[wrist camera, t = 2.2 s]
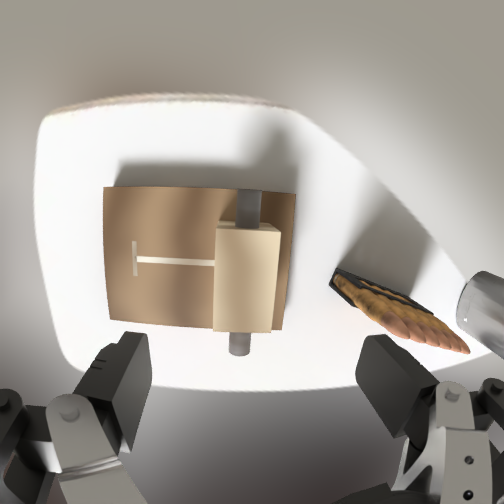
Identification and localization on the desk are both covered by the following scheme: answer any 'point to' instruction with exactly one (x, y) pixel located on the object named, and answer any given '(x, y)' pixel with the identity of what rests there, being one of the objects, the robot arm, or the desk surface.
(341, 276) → the ammunition clip
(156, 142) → the desk surface
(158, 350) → the desk surface
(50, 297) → the desk surface
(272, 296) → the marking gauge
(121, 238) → the walnut board
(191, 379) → the desk surface
